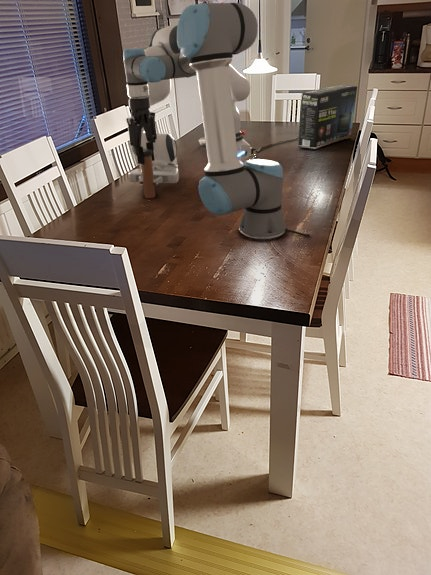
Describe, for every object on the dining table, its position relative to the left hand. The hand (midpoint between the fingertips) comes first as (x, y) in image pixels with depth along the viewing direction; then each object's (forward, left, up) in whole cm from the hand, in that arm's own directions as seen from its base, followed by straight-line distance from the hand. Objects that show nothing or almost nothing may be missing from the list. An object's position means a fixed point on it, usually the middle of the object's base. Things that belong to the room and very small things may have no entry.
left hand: (147, 182), depth 179 cm
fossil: (-79, -27, -6) cm, 84 cm away
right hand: (-1, 0, +8) cm, 8 cm away
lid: (-1, 0, +12) cm, 12 cm away
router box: (-110, +24, -6) cm, 113 cm away
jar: (-1, 0, -6) cm, 6 cm away
